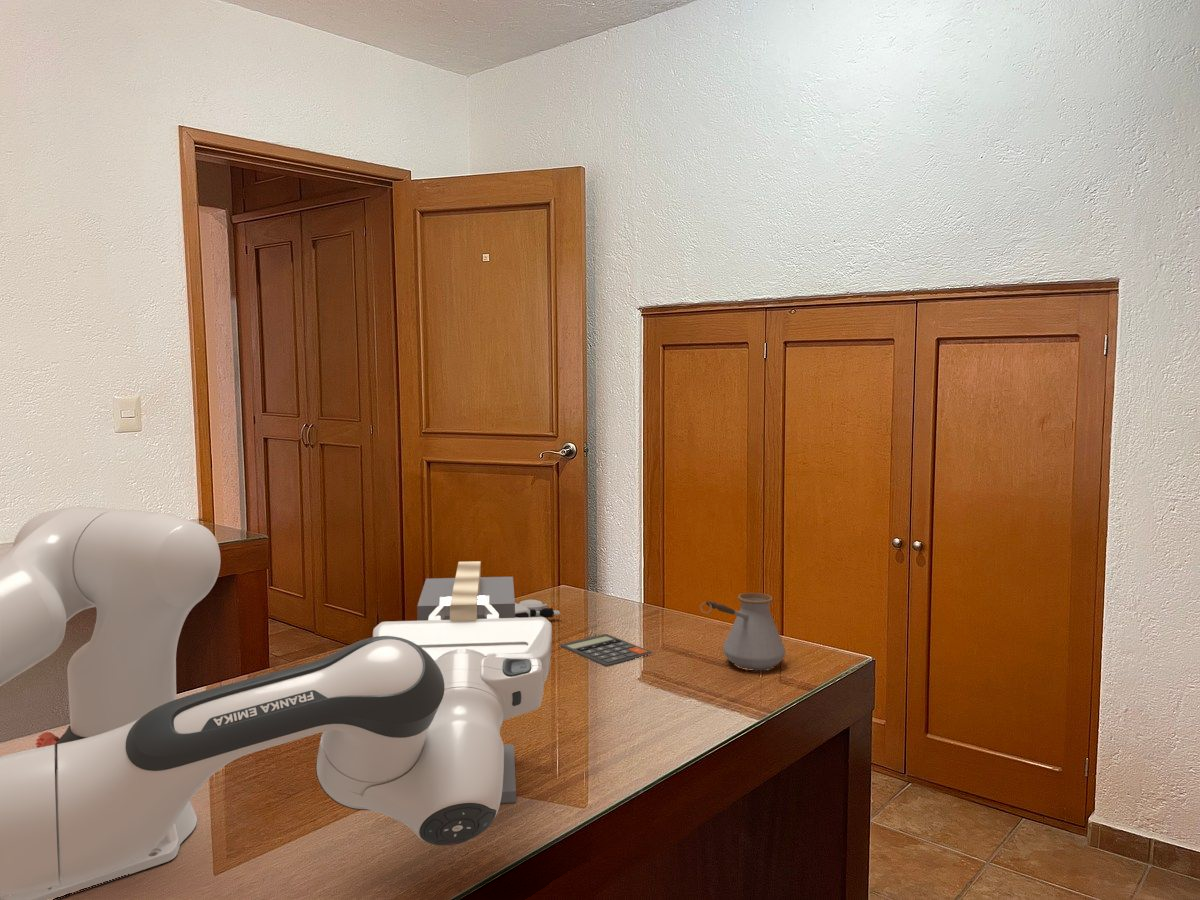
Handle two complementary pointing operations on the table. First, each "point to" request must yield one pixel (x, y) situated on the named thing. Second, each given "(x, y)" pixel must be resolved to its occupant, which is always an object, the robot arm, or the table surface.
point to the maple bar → (465, 591)
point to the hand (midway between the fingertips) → (465, 599)
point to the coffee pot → (752, 633)
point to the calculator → (606, 649)
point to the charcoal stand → (499, 600)
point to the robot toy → (533, 609)
